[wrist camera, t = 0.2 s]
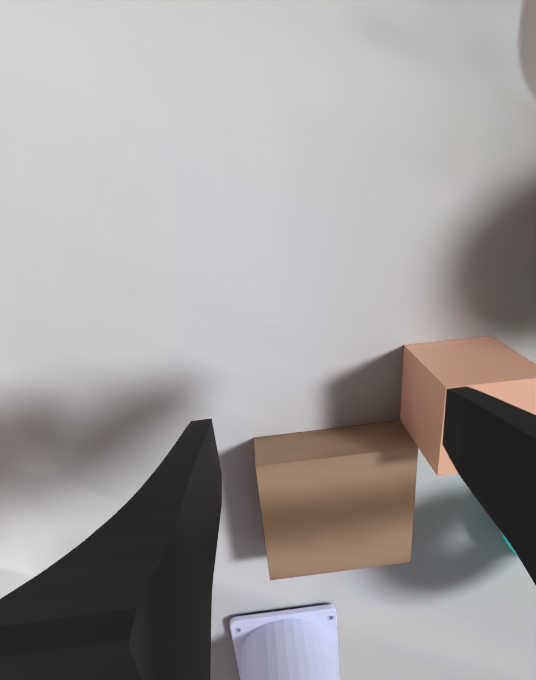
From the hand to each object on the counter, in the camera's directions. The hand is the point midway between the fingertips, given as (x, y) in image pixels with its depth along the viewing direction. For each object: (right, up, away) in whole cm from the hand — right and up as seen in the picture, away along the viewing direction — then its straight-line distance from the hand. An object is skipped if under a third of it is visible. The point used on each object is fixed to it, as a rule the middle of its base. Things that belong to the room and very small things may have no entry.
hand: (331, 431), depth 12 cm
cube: (+8, 0, +11) cm, 14 cm away
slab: (+2, -7, +14) cm, 16 cm away
